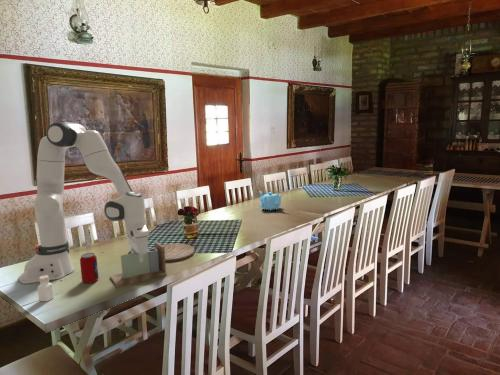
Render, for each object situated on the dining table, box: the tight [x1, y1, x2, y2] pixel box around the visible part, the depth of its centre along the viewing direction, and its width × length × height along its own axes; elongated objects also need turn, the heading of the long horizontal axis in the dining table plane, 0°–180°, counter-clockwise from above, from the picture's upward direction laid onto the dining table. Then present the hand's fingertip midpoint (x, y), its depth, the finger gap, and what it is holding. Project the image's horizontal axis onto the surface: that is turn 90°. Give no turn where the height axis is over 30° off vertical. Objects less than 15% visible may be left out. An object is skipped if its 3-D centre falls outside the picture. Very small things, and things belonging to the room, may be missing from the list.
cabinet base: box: [109, 241, 168, 288], centre depth 169 cm, size 22×12×13 cm, turn 123°
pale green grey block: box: [120, 247, 159, 279], centre depth 169 cm, size 16×4×10 cm, turn 123°
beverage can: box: [79, 252, 99, 284], centre depth 165 cm, size 7×7×12 cm
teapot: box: [259, 190, 283, 211], centre depth 292 cm, size 16×20×14 cm
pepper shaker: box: [37, 275, 55, 302], centre depth 148 cm, size 4×4×10 cm
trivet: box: [150, 243, 195, 264], centre depth 198 cm, size 25×25×2 cm
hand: (137, 258), depth 168 cm, fingers open, 8 cm apart
